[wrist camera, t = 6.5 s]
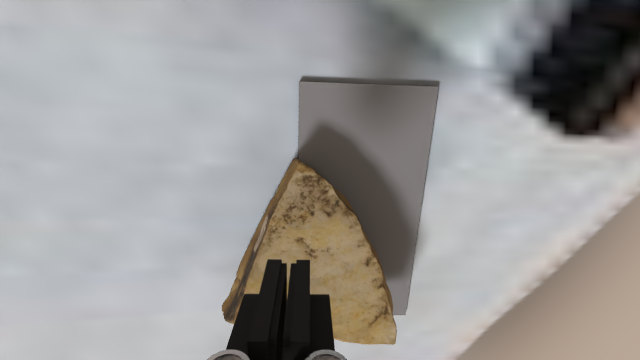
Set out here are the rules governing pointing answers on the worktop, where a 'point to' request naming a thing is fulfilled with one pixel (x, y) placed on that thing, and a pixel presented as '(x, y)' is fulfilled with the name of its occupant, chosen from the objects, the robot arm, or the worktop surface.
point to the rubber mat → (373, 162)
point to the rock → (320, 257)
